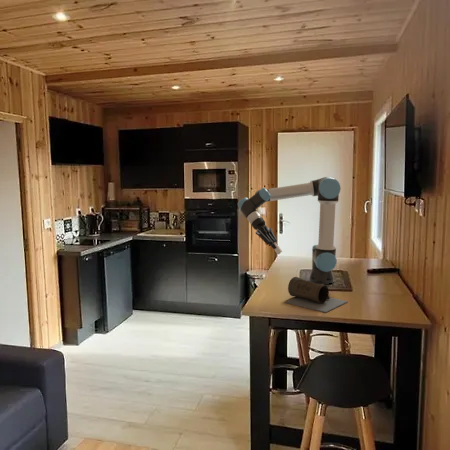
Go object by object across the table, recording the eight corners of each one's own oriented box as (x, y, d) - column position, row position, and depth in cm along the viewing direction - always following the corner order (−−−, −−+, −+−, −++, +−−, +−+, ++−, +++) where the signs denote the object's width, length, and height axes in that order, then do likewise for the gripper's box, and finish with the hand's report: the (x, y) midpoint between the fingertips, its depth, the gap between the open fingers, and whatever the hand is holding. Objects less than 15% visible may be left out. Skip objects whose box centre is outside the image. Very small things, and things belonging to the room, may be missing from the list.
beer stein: (285, 294, 225) (316, 304, 211) (289, 275, 226) (321, 283, 212) (300, 297, 236) (331, 306, 222) (304, 278, 237) (336, 286, 223)
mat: (285, 302, 220) (285, 301, 220) (308, 293, 236) (308, 292, 236) (325, 312, 204) (325, 311, 204) (347, 302, 220) (347, 301, 219)
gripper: (259, 223, 249) (282, 255, 240) (245, 226, 240) (269, 258, 230) (266, 215, 245) (290, 247, 236) (252, 217, 235) (276, 250, 226)
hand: (279, 252), depth 233 cm, fingers closed
